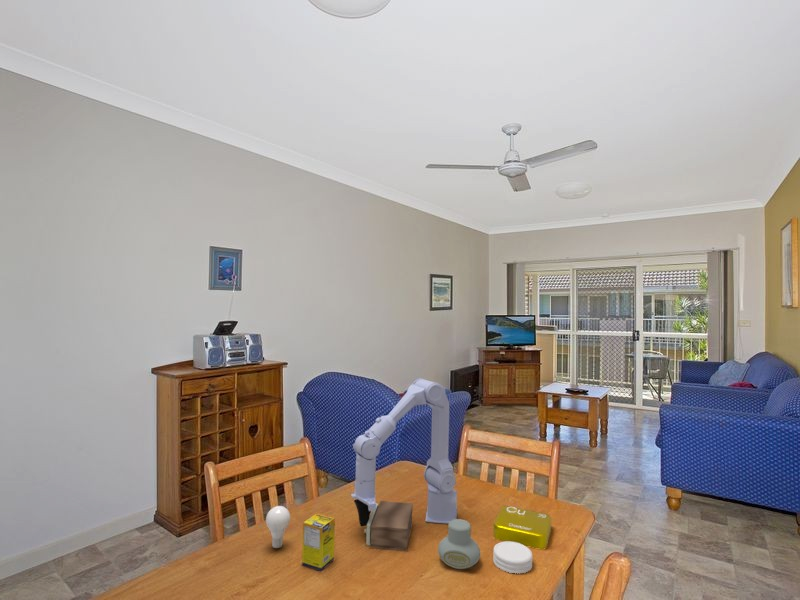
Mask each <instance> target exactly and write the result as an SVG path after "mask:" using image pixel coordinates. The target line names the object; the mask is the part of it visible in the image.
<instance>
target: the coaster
mask: <svg viewBox="0 0 800 600" xmlns="http://www.w3.org/2000/svg"><path fill="white" fill-rule="evenodd" d="M492 556H493V557H492V558H493V559H492V561H493V564H494V565H495V567H497V568H498V569H499V568H500V569H499V570H501V571H503V572H505V571H506V573H508V572H509V574H512V573H515V574H514V575H521V574H520V573H524V574H526V572H527V573H529V572H530V571H531V569H532V568H533V552H532V550H531V548H529V547H527V546H524V545H522V544H520V543H517V542H511V541H500V542H498V543H496V544H495V545H494V546H493V554H492ZM528 571H529V572H528ZM516 573H517V574H516ZM518 573H519V574H518Z"/></svg>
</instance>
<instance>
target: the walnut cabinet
mask: <svg viewBox="0 0 800 600" xmlns="http://www.w3.org/2000/svg"><path fill="white" fill-rule="evenodd" d="M412 525H413V503H411V502H410V503H409V502H398V501H397V502H396V501H388V500H387V501H385V500H380V501H379V503H378V509H377V511H376V514H375V517H374V519H373V522H372V525H371V544H370V549H378V550H388V551H389V550H390V551H401V552H407V551H408V547H409V546H408V545H409V541H410V536H411V532H412V531H411V530H412Z"/></svg>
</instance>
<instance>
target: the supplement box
mask: <svg viewBox="0 0 800 600" xmlns="http://www.w3.org/2000/svg"><path fill="white" fill-rule="evenodd" d="M335 523H336V520H335V517H332V516H328V515H324V514H321V513H315V514H313V515H312V516H311V517H309V518H307V519H306V520H305V521H303V523H302V557H301V558H302V559H301V560H302V562H301V563H302V566H304V567H308V568H311V569H313V570H317V571H320V572H321V571H323V570H324V569H325V568H326V567H327V566H328V565H330V564H331V562H333V561H334V559H335V530H336V529H335V528H336V527H335Z"/></svg>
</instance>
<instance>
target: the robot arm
mask: <svg viewBox="0 0 800 600" xmlns="http://www.w3.org/2000/svg"><path fill="white" fill-rule="evenodd" d="M419 405H420V406H422V405H428V406H429V407H430V408H431V433H430V434H431V435H430V436H431V438H430V439H431V441H430V443H431V445H430V458H429V459H427V460H426V467H425V469H424V471H423V479H424V481H425V482H426V483H427V509H426V513H425V514H426V515H425V522H426V523H433V524H434V523H435V524H447V525H448V524H449V522H450V521H452V520H455V519H457V516H458V515H459V514H458V512H459V511H458V508H457V507H458V504H457V503H458V501H457V500H458V491H457V489H455V486H456V482H457V481H456V480H457V479H456V476H455V474H454V466H453V465H452V463H451V461H450V459H449V447H450V446H449V441H450V440H449V438H450V437H449V435H450V402H449V399H448V397H447V394H446V388H445V387H444V386H443V385H442V384H441V383H439V382H436V381H431V380H427V379H425V378H422V377H419V378H417V379H415V380H414V381H413V383H412V384H410V385H409V386H408V388H407V391H406V393H405V394H404V395H403V396H402V397H401V399H400V400H399V401H398V402H397V403H396V405H395V406H394V407H393V408H392V410H391V411H390V412H389V413H388V414H387V415H381V416H380V417H377V418H375V422H374V423H373V424H372V426H370V427H369V428H368V430H366V431H365V432H364V434H361V435H359V436H358V437H356V439H355V440H354V443H353V444H352V447H353V450H354V452H355V454H356V456H355V458H356V459H355V481H354V482H355V483H354V492H353V493H351V494H350V497H351V498H352V499H354V500H353V502H354V504H355V507H356V510H357V514H358V515H357V516H358V521H359V526H360V527H367V523H368V521H369V518H370V515H371V513H372V511H374V510H376V503H377V502H376V469H377V467H376V464H377V461H376V460H377V456H378V455H379V454H380V452H381V447H382V445H383V444H384V443H385V442H386V441H387V440H388V438H390V436H391V435H392V434H393V433H394V431H396V429H397V428H396V426H397V423H398V422H399V421H400V420H401V419H402V418H403V417H404V416H406V414H408V413H409V412H410V411H411V410H412V408H414V407H416V406H419Z"/></svg>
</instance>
